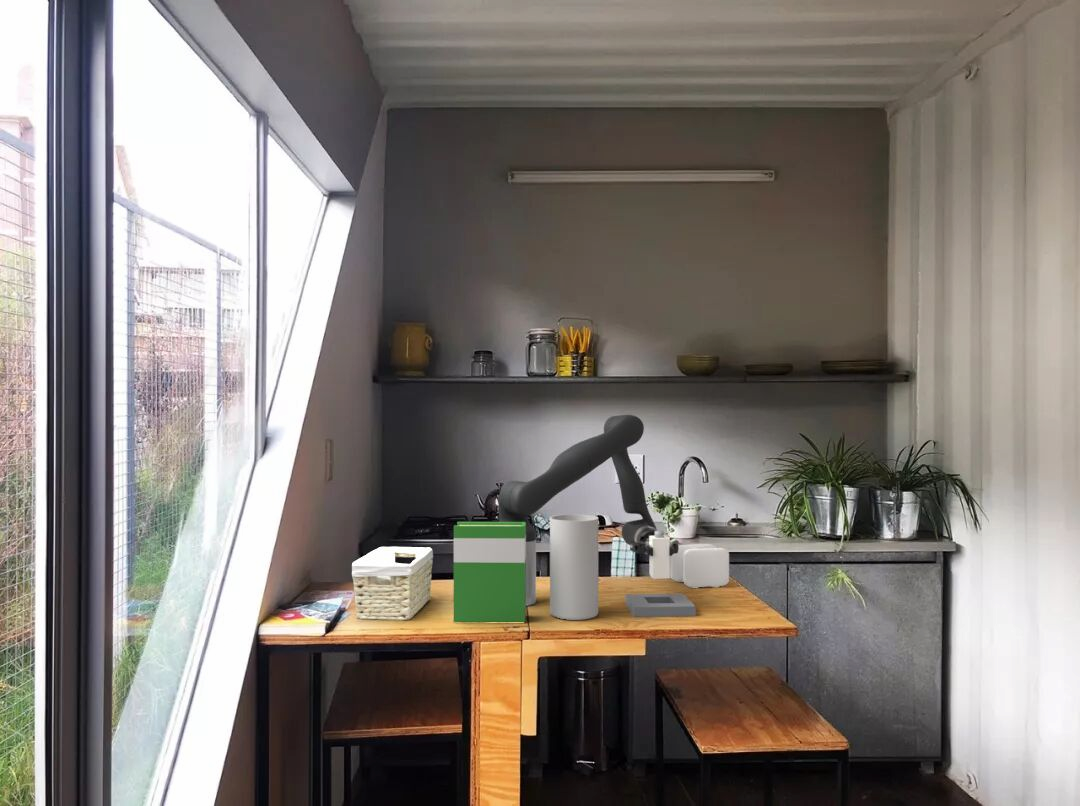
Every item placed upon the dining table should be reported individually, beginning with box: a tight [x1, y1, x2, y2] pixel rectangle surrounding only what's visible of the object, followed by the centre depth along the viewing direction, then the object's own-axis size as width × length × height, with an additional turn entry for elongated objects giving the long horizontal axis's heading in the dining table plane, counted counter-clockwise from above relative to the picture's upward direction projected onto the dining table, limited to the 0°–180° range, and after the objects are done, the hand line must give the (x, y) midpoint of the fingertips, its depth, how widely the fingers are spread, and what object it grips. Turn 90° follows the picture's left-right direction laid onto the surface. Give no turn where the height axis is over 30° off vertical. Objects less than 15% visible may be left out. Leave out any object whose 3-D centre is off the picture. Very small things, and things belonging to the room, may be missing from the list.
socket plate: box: [624, 593, 697, 618], centre depth 202 cm, size 16×14×2 cm
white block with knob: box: [648, 530, 671, 580], centre depth 202 cm, size 4×4×12 cm
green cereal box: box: [453, 521, 527, 623], centre depth 193 cm, size 18×7×24 cm, turn 88°
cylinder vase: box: [549, 514, 599, 621], centre depth 197 cm, size 12×12×25 cm
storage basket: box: [351, 546, 434, 621], centre depth 202 cm, size 24×16×15 cm
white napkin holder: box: [670, 543, 730, 589], centre depth 232 cm, size 15×11×12 cm
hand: (661, 552), depth 199 cm, fingers closed on white block with knob, 4 cm apart
